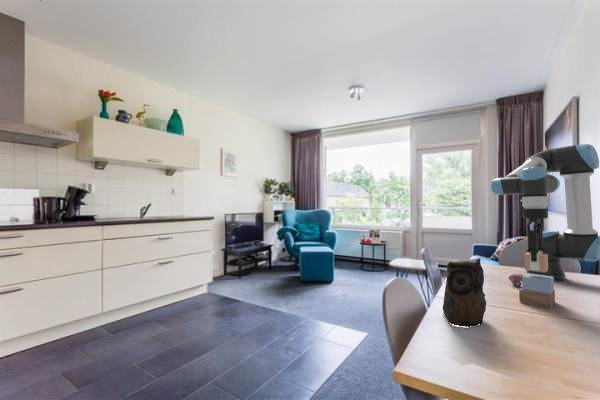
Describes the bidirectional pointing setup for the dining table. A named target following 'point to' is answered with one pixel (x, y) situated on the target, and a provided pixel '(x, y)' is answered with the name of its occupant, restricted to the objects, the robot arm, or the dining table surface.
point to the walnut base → (537, 298)
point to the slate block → (538, 283)
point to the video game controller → (516, 279)
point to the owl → (464, 293)
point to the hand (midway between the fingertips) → (536, 268)
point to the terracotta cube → (542, 262)
